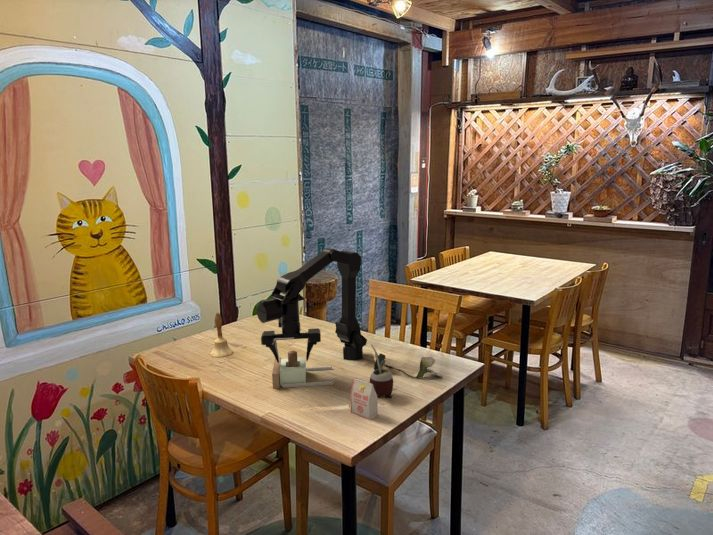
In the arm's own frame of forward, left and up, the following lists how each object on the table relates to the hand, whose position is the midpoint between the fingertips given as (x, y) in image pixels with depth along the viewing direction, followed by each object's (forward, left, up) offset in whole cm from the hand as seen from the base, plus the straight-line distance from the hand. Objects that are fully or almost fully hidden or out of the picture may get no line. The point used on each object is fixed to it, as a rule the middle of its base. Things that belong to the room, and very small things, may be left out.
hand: (292, 361), depth 167 cm
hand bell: (+28, -29, -7) cm, 41 cm away
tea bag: (-21, +24, -7) cm, 33 cm away
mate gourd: (-27, +14, -7) cm, 31 cm away
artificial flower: (-38, 0, -7) cm, 39 cm away
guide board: (-4, 0, -7) cm, 8 cm away
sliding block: (0, 0, -6) cm, 6 cm away
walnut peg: (0, 0, -5) cm, 5 cm away
